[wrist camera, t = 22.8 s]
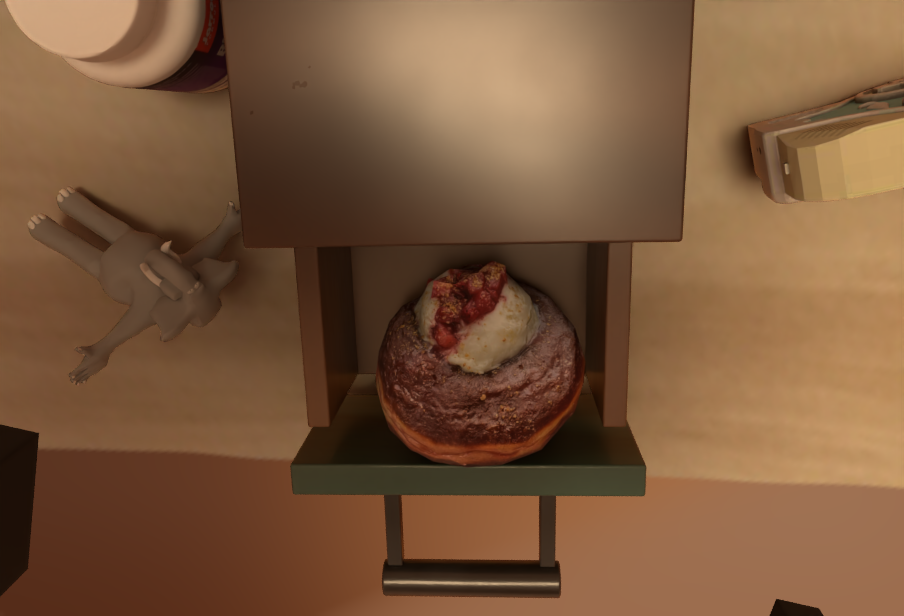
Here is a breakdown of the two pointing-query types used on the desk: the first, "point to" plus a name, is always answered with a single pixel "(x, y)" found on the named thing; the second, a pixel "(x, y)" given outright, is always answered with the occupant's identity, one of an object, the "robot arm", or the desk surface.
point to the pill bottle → (132, 40)
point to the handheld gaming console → (833, 148)
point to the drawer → (408, 473)
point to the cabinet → (459, 120)
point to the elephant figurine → (141, 274)
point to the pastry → (479, 369)
